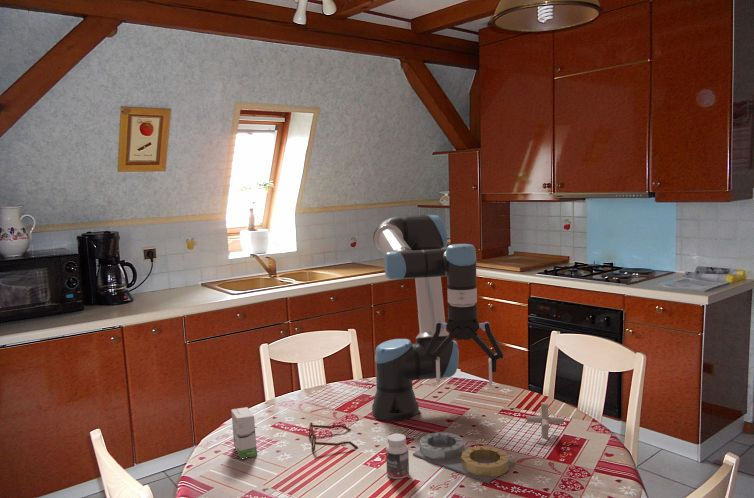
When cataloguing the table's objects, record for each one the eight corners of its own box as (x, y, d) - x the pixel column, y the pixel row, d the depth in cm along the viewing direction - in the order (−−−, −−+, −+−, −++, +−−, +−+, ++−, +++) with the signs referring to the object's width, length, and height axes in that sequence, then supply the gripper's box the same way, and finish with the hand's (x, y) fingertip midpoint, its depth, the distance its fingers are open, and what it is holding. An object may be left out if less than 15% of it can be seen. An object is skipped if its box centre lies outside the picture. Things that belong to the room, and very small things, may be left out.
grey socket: (411, 451, 162) (411, 442, 162) (438, 437, 171) (437, 429, 171) (446, 464, 154) (445, 455, 154) (472, 448, 163) (471, 440, 162)
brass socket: (452, 467, 153) (452, 457, 152) (478, 451, 161) (478, 442, 161) (491, 481, 145) (491, 471, 144) (517, 464, 153) (516, 454, 153)
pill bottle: (382, 474, 151) (380, 437, 150) (397, 466, 155) (396, 430, 154) (398, 482, 147) (396, 444, 146) (413, 474, 151) (412, 436, 150)
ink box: (257, 456, 165) (255, 415, 163) (240, 460, 162) (237, 419, 161) (250, 444, 172) (247, 405, 171) (233, 448, 170) (230, 408, 169)
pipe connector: (565, 445, 163) (564, 410, 162) (527, 443, 165) (527, 409, 164) (561, 430, 173) (561, 397, 172) (526, 429, 175) (525, 396, 174)
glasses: (308, 436, 177) (307, 420, 177) (351, 431, 180) (350, 415, 179) (312, 455, 164) (311, 438, 164) (358, 449, 167) (358, 432, 167)
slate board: (412, 455, 161) (412, 453, 161) (442, 439, 171) (441, 437, 171) (487, 483, 145) (487, 481, 145) (515, 463, 154) (515, 462, 154)
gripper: (412, 307, 152) (415, 386, 154) (512, 307, 147) (513, 389, 149) (416, 301, 159) (418, 377, 161) (511, 300, 154) (512, 379, 157)
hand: (464, 383), depth 155 cm, fingers open, 13 cm apart
